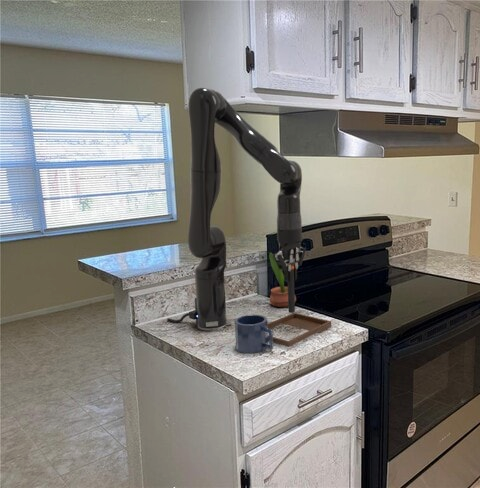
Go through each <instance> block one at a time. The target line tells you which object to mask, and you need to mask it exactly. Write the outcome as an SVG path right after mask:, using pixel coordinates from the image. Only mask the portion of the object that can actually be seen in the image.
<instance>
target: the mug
mask: <svg viewBox="0 0 480 488" xmlns="http://www.w3.org/2000/svg"><path fill="white" fill-rule="evenodd" d="M267 324H268V318H267V316H265V315H262V314H254V313H253V314H245V315H241V316H239V317H236V318H235V319H234V334H235V350H236V351H237V352H239V353H242V354H246V355H247V354H249V355H251V354H253V355H254V354H258V353H262V352H264V351H266V350H267V349H268V350H273V349H274V343H273V337H274V330H273V329H272V328H270V329H269V328H267ZM268 335H269V341H268Z"/></svg>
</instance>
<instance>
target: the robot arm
mask: <svg viewBox="0 0 480 488" xmlns="http://www.w3.org/2000/svg"><path fill="white" fill-rule="evenodd" d="M187 105H188V107H187V108H188V117H189V126H190V127H189V128H190V141H191V142H190V212H189V223H188V231H187V247H188V251H189V252H190V253H191V255H192V256H193V257H195V258H197V259H200V261H199V263H198V264H197V265H196V267H195V268H194V280H195V281H194V282H195V284H194V285H195V298H194V309H193V310H191V311H188V312H187V313H185V314H183V315H182V316H181V317H180V318H179V319H173V318H167V319H166V321H167V322H171V323H175V324H177V323H181V322H183V320H184V319H185V318H186V317H188V318H189V319H191V320H194V321H195V327H197V328H198V330H200V331H206V332H213V331H214V330H219V329H222V328H225V327H227V326H228V322H227V303H226V286H225V270H226V266H227V240H226V235H225V233H224V231H223V230H222V229H221V228H220V227H219V226H216V225H211V221H212V220H211V219H212V212H213V209H214V206H215V204H216V202H217V200H218V197H219V195H220V192H221V189H222V188H221V187H222V162H221V158H220V154H219V150H218V148H217V144H216V139H215V125H216V124H217V125H218V126H220V127H221V128H223V129H224V130H225V131H226V132H228V133H229V134H230V135H231V136H232V137H233V138H234V139H235V141H236V143H237V144H238V145H239V146H240V147H241V149H243V151H244V152H245V153H246V154H248V156H250V157H251V158H252V159H253V160H255V161H256V162H257V163H258V164H260V165H261V166H262V167H263V169H264V170H265V171H266V172H267V174H269V176H270V177H272V179H274V180H275V181H276V182H277V183H279V193H278V194H277V198H276V211H277V214H276V236H277V237H276V239H277V242H278V244H279V247H278V252H277V253H273V257H274V259H275V262H276V264H277V266H278V268H279V269H280V270H282V272H283V275H284V283H287V284H288V283H290V282H291V281H292V279H291V265H294V282H296V281H297V280H298V269H299V267H301V266H302V265H303V261H304V259H305V255H306V251H307V248H306V247H303V246H301V242H302V241H303V228H302V225H303V224H302V223H303V222H302V221H303V220H302V214H301V213H302V212H301V190H302V181H303V173H302V168H301V165H300V164H299V163H298V162H297V161H295V160H289V159H287V158H286V157H285V156H284V155H282V154H281V153H280V152H279V151H278V148H277V147H276V146H275V145H274V144H273V143H272V142H271V141H270V140H268V139H267V138H266V137H265V136H264V135H263V134H262V133H260V132H259V131H258V130H257V129H256V128H254V127H253V126H252V125H251V124H249V122H247V121H246V120H245V119H244V118H243V117H242V116H241V115H240V114H239V113H238V112H237V111H236V109H235V108H234V107H233V106H232V105H231V104H230V102H228V100H227V99H226V98H225V96H224V95H222V93H221V92H219V91H217V90H215V89H211V88H206V87H198V88H196V89H194V90H193V91H192V92H191V94H190V95H189V98H188V104H187ZM286 263H287V266H286Z"/></svg>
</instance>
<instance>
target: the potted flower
mask: <svg viewBox="0 0 480 488" xmlns="http://www.w3.org/2000/svg"><path fill="white" fill-rule="evenodd" d="M273 255H274V253H272V252H269V256H268V257H269V261H270V267H271V269H272V271H273V274H274V276H275V278H276V280H277V283H278V284H279V286H276V287H273V288H271V289H270V296H269V300H268V301H269V303H270V304H271V305H272V306H274V307H279V308H286V307H287V308H288V286H285V280H284V271H283V270H280V269H279V268H278V266H277V264H276V262H275V259H274V257H273ZM286 266H287V263H286ZM294 296H295V302H297V295H296V294H295V293H294Z"/></svg>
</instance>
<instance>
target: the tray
mask: <svg viewBox="0 0 480 488" xmlns="http://www.w3.org/2000/svg"><path fill="white" fill-rule="evenodd" d="M279 325H285V326H289V327H294V328H298V329H302V330H305V331H306V332H303V333H301V334H299V335H297V336H296V337H293V338H292V339H289V340H286V339H282V338H279V337H275V336H273V344H277V345H280V346H284V347H287V348H290V347H292V346H294V345H296V344H298V343H300V342H302V341H304V340H306V339H307V338H309V337H312V336H313V335H315V334H321V333H323V332H324V331H327V330H328V329H330V328H332V320H327V319H323V318H319V317H316V316H315V317H314V316H310V315H307V314H302V313H299V312H294V313H289V314H288V315H285V316H283V317H281V318H278V319H276V320H274V321H271V322H269V323H267V328H269V329H272V328H275V327H276V326H279ZM268 342H269V334H268Z"/></svg>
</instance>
